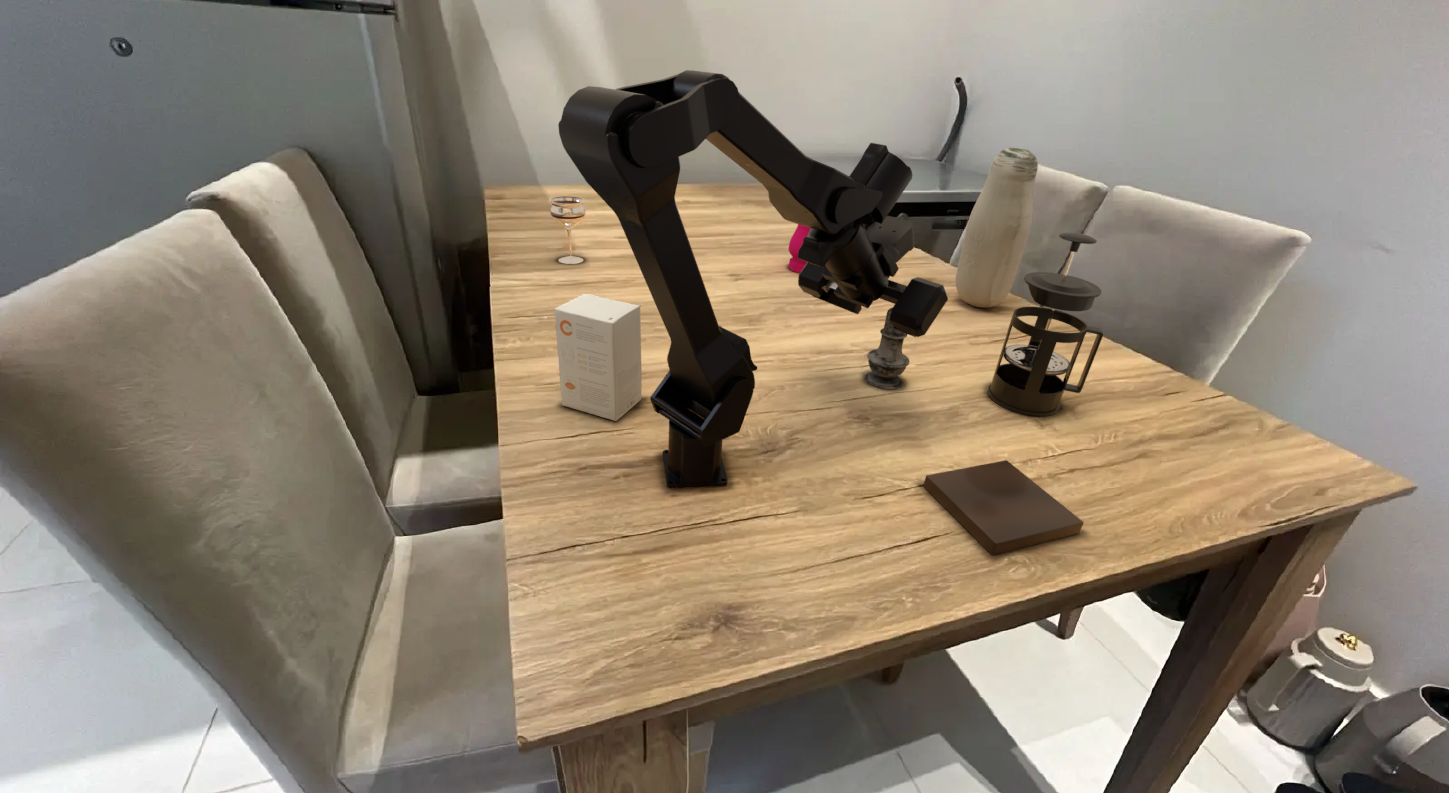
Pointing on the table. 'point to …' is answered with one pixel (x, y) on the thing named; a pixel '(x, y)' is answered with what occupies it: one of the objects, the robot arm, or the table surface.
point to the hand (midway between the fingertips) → (886, 321)
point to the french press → (1046, 342)
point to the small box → (599, 355)
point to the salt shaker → (887, 358)
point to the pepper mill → (797, 248)
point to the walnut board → (1002, 506)
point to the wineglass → (568, 219)
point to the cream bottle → (998, 230)
